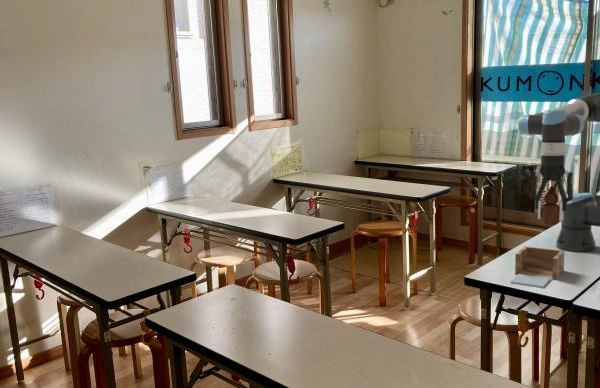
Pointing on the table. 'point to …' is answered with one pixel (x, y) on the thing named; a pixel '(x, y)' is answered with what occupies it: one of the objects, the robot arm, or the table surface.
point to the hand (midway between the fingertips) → (550, 219)
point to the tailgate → (530, 280)
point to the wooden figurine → (551, 207)
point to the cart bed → (539, 262)
